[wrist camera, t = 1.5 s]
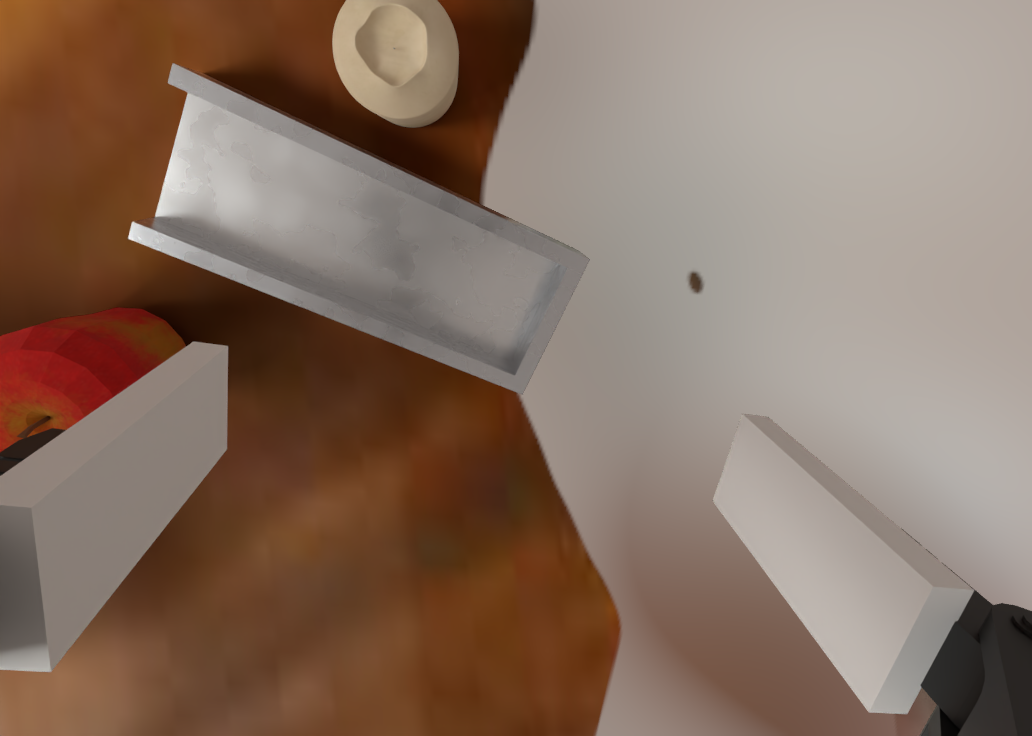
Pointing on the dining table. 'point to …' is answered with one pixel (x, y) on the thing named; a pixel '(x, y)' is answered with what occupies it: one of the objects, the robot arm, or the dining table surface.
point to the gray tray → (356, 237)
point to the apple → (76, 367)
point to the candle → (398, 58)
